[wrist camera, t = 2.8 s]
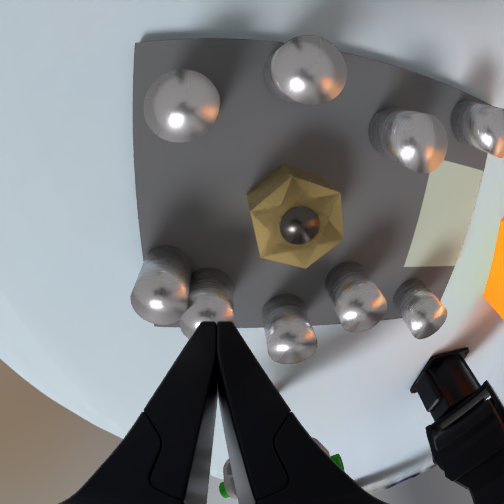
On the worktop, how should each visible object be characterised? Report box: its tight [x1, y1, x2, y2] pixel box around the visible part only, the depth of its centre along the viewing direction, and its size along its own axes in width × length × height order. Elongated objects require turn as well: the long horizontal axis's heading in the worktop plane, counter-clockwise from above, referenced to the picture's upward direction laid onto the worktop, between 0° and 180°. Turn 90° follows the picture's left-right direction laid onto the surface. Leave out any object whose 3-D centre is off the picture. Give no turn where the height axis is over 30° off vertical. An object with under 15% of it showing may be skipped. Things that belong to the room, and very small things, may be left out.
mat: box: [133, 38, 491, 328], centre depth 17 cm, size 23×18×1 cm
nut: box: [246, 164, 344, 269], centre depth 16 cm, size 4×5×3 cm
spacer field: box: [131, 35, 504, 364], centre depth 15 cm, size 22×18×4 cm
